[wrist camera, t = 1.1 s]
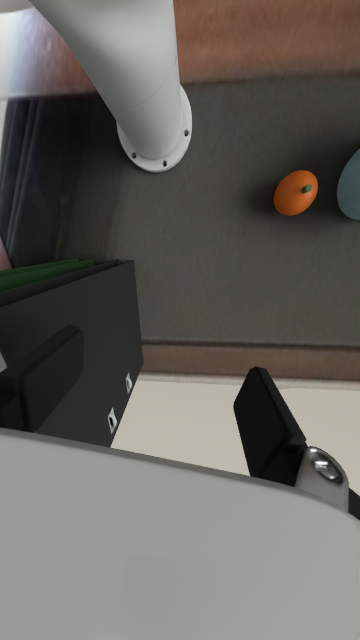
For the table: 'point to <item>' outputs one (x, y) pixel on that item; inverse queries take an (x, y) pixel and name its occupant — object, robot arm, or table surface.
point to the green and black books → (99, 338)
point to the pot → (350, 188)
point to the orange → (295, 193)
